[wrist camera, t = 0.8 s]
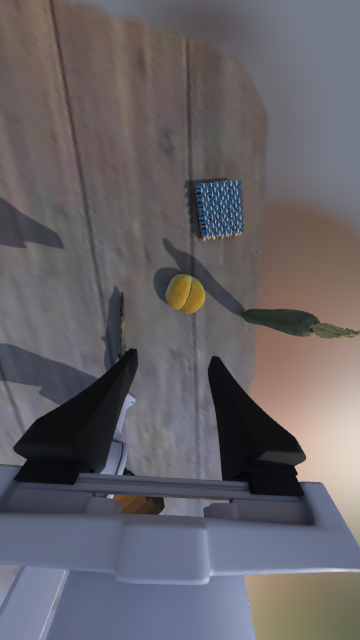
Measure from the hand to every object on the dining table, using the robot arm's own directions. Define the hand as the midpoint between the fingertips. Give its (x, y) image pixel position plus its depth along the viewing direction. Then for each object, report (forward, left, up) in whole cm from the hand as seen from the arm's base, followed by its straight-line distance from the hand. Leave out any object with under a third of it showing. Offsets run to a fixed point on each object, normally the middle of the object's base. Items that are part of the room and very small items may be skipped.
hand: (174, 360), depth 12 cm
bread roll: (+8, +1, -19) cm, 21 cm away
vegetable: (+18, -13, -19) cm, 29 cm away
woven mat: (+25, +10, -19) cm, 33 cm away
